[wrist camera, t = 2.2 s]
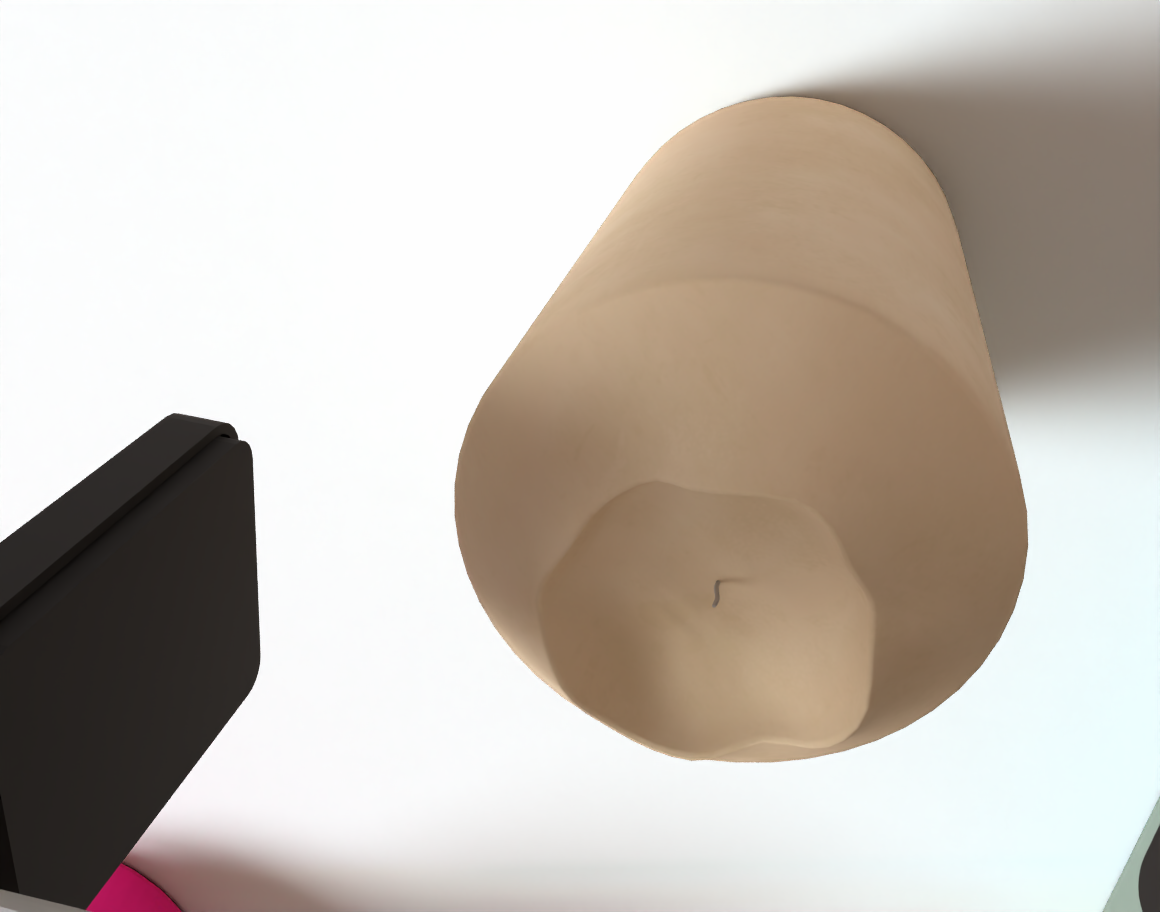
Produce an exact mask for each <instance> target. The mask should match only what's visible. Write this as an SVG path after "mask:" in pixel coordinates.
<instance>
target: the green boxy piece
mask: <svg viewBox="0 0 1160 912" xmlns="http://www.w3.org/2000/svg"><path fill="white" fill-rule="evenodd" d="M1159 825H1160V797H1159V799H1158V801H1157V803H1156V805H1155V807H1154V809H1153V811H1152V813H1151V815H1150V817H1149V819H1148V821H1147V823H1146V825H1145V827H1144V829H1143V831H1142V833H1141V835H1140V837H1139V839H1138V841H1137V843H1136V845H1135V847H1134V850H1133V852H1132V854H1131V856H1130V858H1129V860H1128V862H1127V864H1126V866H1125V868H1124V870H1123V872H1122V874H1121V876H1120V878H1119V880H1118V882H1117V884H1116V886H1115V888H1114V890H1113V892H1112V894H1111V896H1110V898H1109V900H1108V902H1107V904H1106V906H1105V908H1104V910H1103V912H1142V908H1141V905H1140V900H1139V891H1138V882H1139V873H1140V868H1141V864H1142V861H1143V858H1144V856H1145V854H1146V852H1147V850H1148V848H1149V846H1150V843H1151V841H1152V839H1153V837H1154V835H1155V833H1156V831H1157V829H1158V827H1159Z"/></svg>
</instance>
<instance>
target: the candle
mask: <svg viewBox="0 0 1160 912" xmlns="http://www.w3.org/2000/svg"><path fill="white" fill-rule="evenodd" d="M455 521H456V528H457V535H458V542H459V547H460V550H461V554H462V557H463V561H464V564H465V568H466V571H467V574H468V577H469V579H470V581H471V583H472V586H473V588H474V590H475V593H476V595H477V597H478V599H479V602H480V603H481V605H482V607H483V608H484V610H485V612H486V613H487V615H488V617H489V618H490V620H491V622H492V623H493V625H494V627H495V628H496V630H497V631H498V632H499V634H500V635H501V636H502V638H503V639H504V640H505V641H506V643H507V644H508V645H509V647H510V648H511V649H512V651H513V652H514V653H515V654H516V655H517V656H518V657H519V658H520V659H521V660H522V661H523V662H524V663H525V664H526V665H527V667H528V668H529V669H530V670H531V671H532V672H533V673H534V674H535V675H536V676H537V677H539V678H540V679H541V680H542V681H543V682H545V683H546V684H547V685H548V686H549V687H551V688H552V689H553V690H554V691H555V692H557V693H558V694H559V695H560V696H561V697H563V698H564V699H566V700H567V701H569V702H570V703H572V704H573V705H575V706H576V707H578V708H579V709H581V710H582V711H584V712H585V713H586V714H588V715H590V716H591V717H593V718H594V719H596V720H598V721H600V722H601V723H603V724H605V725H606V726H608V727H610V728H611V729H613V730H615V731H616V732H618V733H620V734H622V735H623V736H625V737H627V738H629V739H631V740H633V741H634V742H636V743H639V744H641V745H643V746H645V747H647V748H649V749H652V750H654V751H657V752H660V753H663V754H666V755H669V756H671V757H676V758H681V759H686V760H691V761H693V760H716V761H727V762H780V761H790V760H800V759H808V758H814V757H818V756H823V755H828V754H833V753H838V752H842V751H846V750H849V749H852V748H855V747H858V746H861V745H864V744H867V743H871V742H874V741H876V740H879V739H881V738H883V737H885V736H887V735H890V734H892V733H894V732H896V731H898V730H900V729H903V728H905V727H907V726H908V725H910V724H912V723H913V722H915V721H916V720H918V719H920V718H921V717H923V716H925V715H926V714H928V713H929V712H931V711H933V710H934V709H935V708H937V707H938V706H939V705H940V704H942V703H943V702H944V701H945V700H947V699H948V698H949V697H950V696H951V695H953V694H954V693H955V692H956V691H958V690H959V689H960V688H961V687H962V686H963V685H964V684H965V682H966V681H967V680H968V679H969V678H970V677H971V676H972V675H973V674H974V673H975V672H976V671H977V670H978V669H979V668H980V666H981V665H982V664H983V662H984V661H985V660H986V658H987V657H988V655H989V654H990V652H991V651H992V649H993V648H994V647H995V645H996V644H997V642H998V641H999V639H1000V638H1001V635H1002V633H1003V631H1004V629H1005V627H1006V625H1007V623H1008V621H1009V619H1010V617H1011V615H1012V613H1013V611H1014V608H1015V605H1016V602H1017V598H1018V595H1019V592H1020V589H1021V585H1022V582H1023V579H1024V571H1025V564H1026V557H1027V549H1028V531H1027V509H1026V504H1025V499H1024V494H1023V489H1022V484H1021V479H1020V474H1019V470H1018V466H1017V462H1016V458H1015V454H1014V450H1013V446H1012V442H1011V438H1010V434H1009V430H1008V426H1007V422H1006V418H1005V414H1004V410H1003V407H1002V403H1001V399H1000V395H999V391H998V387H997V383H996V379H995V375H994V371H993V367H992V363H991V359H990V356H989V352H988V348H987V344H986V340H985V336H984V332H983V328H982V324H981V320H980V316H979V312H978V308H977V305H976V301H975V297H974V293H973V289H972V285H971V281H970V277H969V273H968V269H967V265H966V261H965V257H964V254H963V250H962V246H961V242H960V238H959V234H958V231H957V228H956V225H955V222H954V219H953V216H952V213H951V210H950V208H949V205H948V202H947V199H946V197H945V195H944V193H943V191H942V189H941V187H940V185H939V183H938V182H937V180H936V178H935V176H934V175H933V173H932V172H931V170H930V169H929V168H928V166H927V165H926V164H925V162H924V161H923V160H922V158H921V157H920V156H919V155H918V154H917V153H916V152H915V151H914V150H913V149H912V148H911V147H910V146H909V145H908V144H907V143H906V142H905V141H904V140H903V139H902V138H900V137H899V136H898V135H897V134H895V133H894V132H893V131H891V130H890V129H889V128H887V127H886V126H885V125H883V124H881V123H879V122H878V121H876V120H874V119H872V118H870V117H869V116H867V115H865V114H863V113H861V112H859V111H856V110H854V109H851V108H848V107H846V106H843V105H841V104H837V103H833V102H829V101H824V100H820V99H815V98H804V97H794V96H791V97H768V98H762V99H756V100H751V101H745V102H742V103H738V104H735V105H732V106H729V107H725V108H722V109H720V110H717V111H715V112H713V113H711V114H709V115H707V116H704V117H702V118H700V119H698V120H697V121H695V122H694V123H692V124H690V125H689V126H687V127H686V128H684V129H683V130H681V131H679V132H678V133H677V134H676V135H675V136H673V137H672V138H671V139H670V140H669V141H667V142H666V143H665V144H664V145H663V146H662V147H661V148H660V149H659V150H658V151H657V152H656V153H655V154H654V155H653V156H652V157H651V159H650V160H649V161H648V162H647V163H646V164H645V165H644V167H643V168H642V169H641V170H640V172H639V173H638V174H637V175H636V177H635V178H634V180H633V181H632V182H631V184H630V185H629V187H628V188H627V190H626V191H625V192H624V194H623V195H622V197H621V198H620V200H619V201H618V202H617V204H616V205H615V207H614V208H613V210H612V211H611V212H610V214H609V215H608V217H607V218H606V220H605V221H604V222H603V224H602V225H601V227H600V228H599V230H598V231H597V232H596V234H595V235H594V237H593V238H592V240H591V241H590V242H589V244H588V245H587V247H586V248H585V250H584V251H583V253H582V254H581V255H580V257H579V258H578V260H577V261H576V263H575V264H574V265H573V267H572V268H571V270H570V271H569V273H568V274H567V275H566V277H565V278H564V280H563V281H562V283H561V284H560V285H559V287H558V288H557V290H556V291H555V293H554V294H553V295H552V297H551V298H550V300H549V301H548V303H547V304H546V305H545V307H544V308H543V310H542V311H541V313H540V314H539V315H538V317H537V318H536V320H535V321H534V323H533V324H532V325H531V327H530V328H529V330H528V331H527V333H526V334H525V335H524V337H523V338H522V340H521V341H520V343H519V344H518V346H517V347H516V348H515V350H514V351H513V353H512V354H511V356H510V357H509V358H508V360H507V361H506V363H505V364H504V366H503V367H502V369H501V370H500V371H499V373H498V374H497V376H496V377H495V379H494V380H493V382H492V383H491V384H490V386H489V387H488V389H487V390H486V392H485V393H484V395H483V396H482V398H481V400H480V402H479V404H478V406H477V408H476V410H475V413H474V415H473V417H472V419H471V421H470V423H469V425H468V428H467V431H466V434H465V438H464V441H463V444H462V447H461V451H460V454H459V459H458V466H457V473H456V479H455Z"/></svg>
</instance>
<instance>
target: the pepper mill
mask: <svg viewBox="0 0 1160 912" xmlns="http://www.w3.org/2000/svg"><path fill="white" fill-rule="evenodd" d="M86 910H87V911H91V912H182V911H181V910H180V909H179V908H178V907H177V906H176V905H175V904H174V902H173V901H172V900H171V899H170V898H169V897H168V896H167V895H166V894H165V893H164V892H163V891H162V890H161V889H160V888H158V887H157V886H156V885H154V884H153V883H151V882H150V881H149V880H147V879H146V878H145V877H143V876H142V875H140V874H139V873H138V872H136V871H135V870H133V869H131V868H129V867H127V866H126V865H124V864H122V863H121V864H120V865H119V867H118V868H117V869H116V871H115V872H114V873H113V875H112V876H111V877H110V879H109V880H108V881H107V883H106V884H105V885H104V886H103V888H102V889H101V890H100V892H99V893H98V894H97V896H96V897H95V898H94V900H93V901H92V902H91V904H90V905H89V906H88V908H87V909H86Z"/></svg>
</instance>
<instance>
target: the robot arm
mask: <svg viewBox="0 0 1160 912" xmlns="http://www.w3.org/2000/svg"><path fill="white" fill-rule="evenodd" d="M259 666H260V632H259V607H258V581H257V556H256V531H255V505H254V480H253V457H252V450H251V448H250V446H249V444H248V443H247V442H246V441H241V440H238V435H237V433H236V431H235V428H234V427H233V426H232V425H230V424H229V423H224V422H219V421H214V420H209V419H204V418H199V417H194V416H189V415H183V414H176V413H173V414H171V415H169V416H167V417H165V418H164V419H163V420H161V421H160V422H159V423H157V424H156V425H155V426H153V427H152V428H151V429H150V430H148V431H147V432H146V433H144V434H143V435H142V436H140V437H139V438H138V439H136V440H135V441H134V442H132V443H131V444H130V445H128V446H127V447H126V448H124V449H123V450H122V451H121V452H119V453H118V454H117V455H115V456H114V457H113V458H111V459H110V460H109V461H107V462H106V463H105V464H103V465H102V466H101V467H99V468H98V469H97V470H95V471H94V472H93V473H91V474H90V475H89V476H88V477H86V478H85V479H84V480H82V481H81V482H80V483H78V484H77V485H76V486H74V487H73V488H72V489H70V490H69V491H68V492H66V493H65V494H64V495H62V496H61V497H60V498H59V499H57V500H56V501H55V502H53V503H52V504H51V505H49V506H48V507H47V508H45V509H44V510H43V511H41V512H40V513H39V514H37V515H36V516H35V517H33V518H32V519H31V520H30V521H28V522H27V523H26V524H24V525H23V526H22V527H20V528H19V529H18V530H16V531H15V532H14V533H12V534H11V535H10V536H8V537H7V538H6V539H4V540H3V541H2V542H1V543H0V912H91V911H87V910H86V909H87V908H88V906H89V905H90V904H91V902H92V901H93V900H94V898H95V897H96V896H97V894H98V893H99V892H100V890H101V889H102V888H103V886H104V885H105V884H106V883H107V881H108V880H109V879H110V877H111V876H112V875H113V873H114V872H115V871H116V869H117V868H118V867H119V865H120V864H121V863H122V861H123V860H124V859H125V857H126V856H127V855H128V853H129V852H130V851H131V849H132V848H133V847H134V845H135V844H136V843H137V841H138V840H139V839H140V837H141V836H142V835H143V833H144V832H145V831H146V829H147V828H148V827H149V826H150V824H151V823H152V822H153V820H154V819H155V818H156V816H157V815H158V814H159V812H160V811H161V810H162V808H163V807H164V806H165V804H166V803H167V802H168V800H169V799H170V798H171V796H172V795H173V794H174V792H175V791H176V790H177V788H178V787H179V786H180V784H181V783H182V782H183V780H184V779H185V778H186V776H187V775H188V774H189V773H190V771H191V770H192V769H193V767H194V766H195V765H196V763H197V762H198V761H199V759H200V758H201V757H202V755H203V754H204V753H205V751H206V750H207V749H208V747H209V746H210V745H211V743H212V742H213V741H214V739H215V738H216V737H217V735H218V734H219V733H220V731H221V730H222V729H223V727H224V726H225V725H226V723H227V722H228V721H229V719H230V718H231V717H232V716H233V714H234V713H235V712H236V710H237V709H238V708H239V706H240V705H241V704H242V702H243V701H244V700H245V698H246V697H247V696H248V694H249V693H250V691H251V689H252V687H253V685H254V683H255V681H256V678H257V674H258V671H259ZM1138 891H1139V900H1140V905H1141V908H1142V912H1160V825H1159V827H1158V829H1157V831H1156V833H1155V835H1154V837H1153V839H1152V841H1151V843H1150V846H1149V848H1148V850H1147V852H1146V854H1145V856H1144V858H1143V861H1142V864H1141V868H1140V873H1139V882H1138Z"/></svg>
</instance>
